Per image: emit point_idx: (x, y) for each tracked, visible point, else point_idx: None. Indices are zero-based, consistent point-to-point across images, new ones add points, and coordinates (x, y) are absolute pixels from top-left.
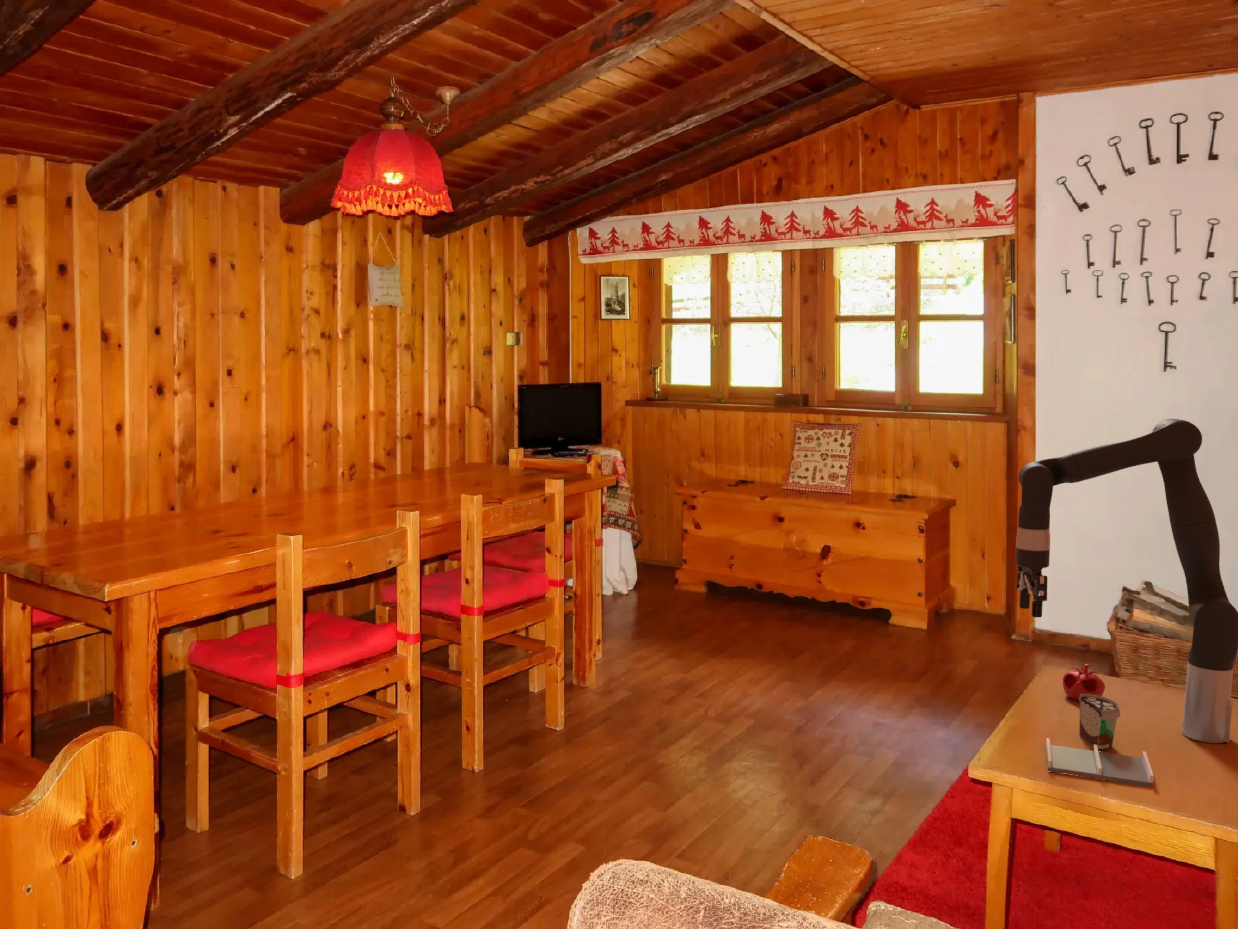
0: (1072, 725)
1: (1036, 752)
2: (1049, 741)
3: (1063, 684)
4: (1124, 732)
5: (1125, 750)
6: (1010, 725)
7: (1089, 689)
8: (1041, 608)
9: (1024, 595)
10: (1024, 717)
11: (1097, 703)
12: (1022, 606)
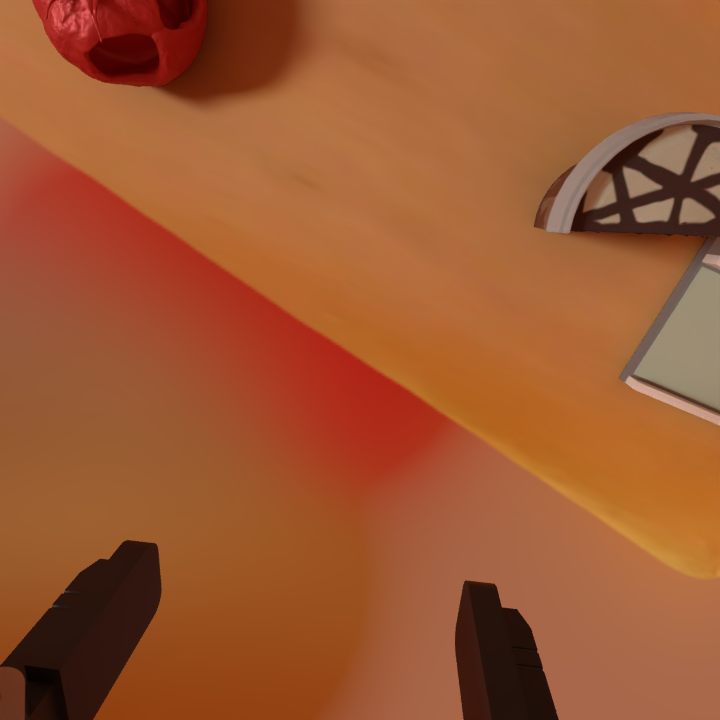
0: (434, 201)
1: (639, 414)
2: (663, 393)
3: (116, 83)
4: (510, 30)
5: None
6: (429, 398)
7: None
8: (545, 681)
9: (80, 698)
10: (361, 328)
11: (658, 195)
12: (150, 603)
